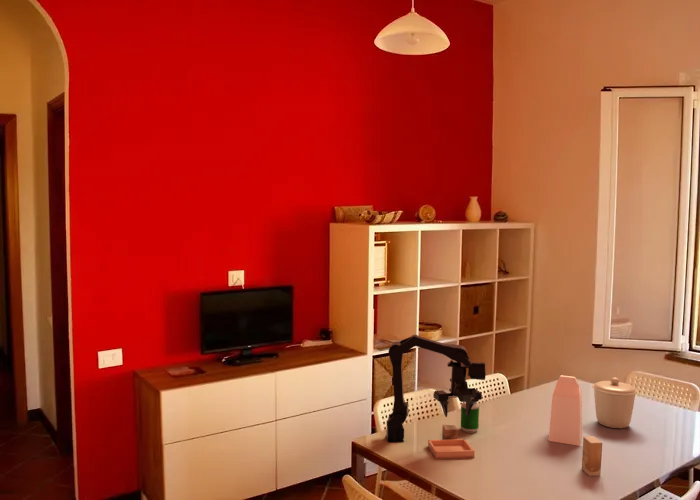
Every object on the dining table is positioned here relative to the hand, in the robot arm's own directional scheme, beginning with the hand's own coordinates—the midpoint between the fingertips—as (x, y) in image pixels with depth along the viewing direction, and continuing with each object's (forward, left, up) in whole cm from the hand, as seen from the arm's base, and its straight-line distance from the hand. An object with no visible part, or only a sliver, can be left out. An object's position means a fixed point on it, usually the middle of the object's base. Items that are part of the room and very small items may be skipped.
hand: (456, 416), depth 238 cm
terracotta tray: (-4, -7, -11) cm, 14 cm away
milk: (+47, +3, -12) cm, 49 cm away
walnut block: (-2, +3, -12) cm, 12 cm away
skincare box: (+41, -29, -12) cm, 52 cm away
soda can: (+10, +15, -12) cm, 21 cm away
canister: (+76, +17, -12) cm, 79 cm away
